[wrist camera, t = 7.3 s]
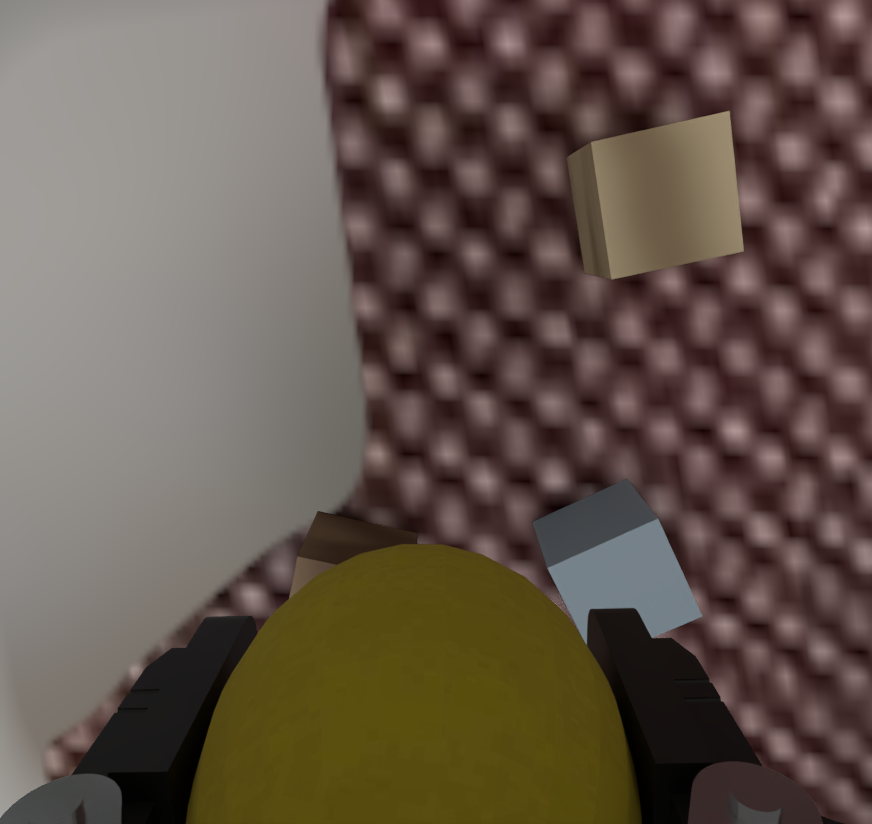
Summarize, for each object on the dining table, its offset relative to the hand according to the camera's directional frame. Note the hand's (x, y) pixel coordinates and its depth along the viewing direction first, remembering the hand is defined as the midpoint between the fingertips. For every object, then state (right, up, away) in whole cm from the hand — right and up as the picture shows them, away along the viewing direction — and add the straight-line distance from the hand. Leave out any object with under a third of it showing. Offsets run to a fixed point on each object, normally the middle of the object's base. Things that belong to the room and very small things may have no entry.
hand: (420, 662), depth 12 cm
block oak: (+9, +13, +19) cm, 25 cm away
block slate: (+8, -2, +23) cm, 24 cm away
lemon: (0, 0, +2) cm, 2 cm away
